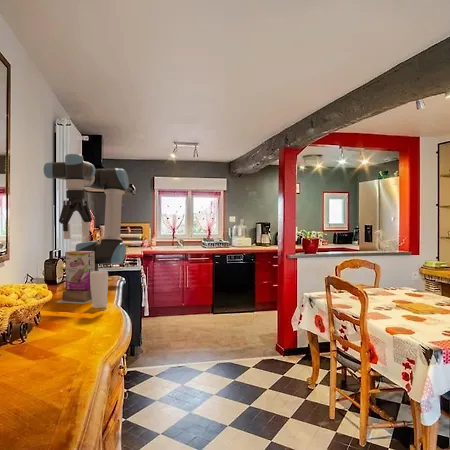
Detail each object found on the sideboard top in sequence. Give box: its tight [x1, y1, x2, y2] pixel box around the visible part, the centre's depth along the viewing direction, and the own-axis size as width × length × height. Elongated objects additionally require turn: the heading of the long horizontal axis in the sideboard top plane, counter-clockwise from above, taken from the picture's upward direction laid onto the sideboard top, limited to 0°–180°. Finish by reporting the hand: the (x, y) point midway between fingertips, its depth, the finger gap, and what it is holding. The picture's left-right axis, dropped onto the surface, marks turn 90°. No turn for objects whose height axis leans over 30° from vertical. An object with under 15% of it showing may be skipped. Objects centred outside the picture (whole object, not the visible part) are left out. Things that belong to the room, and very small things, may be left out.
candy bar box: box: [64, 250, 95, 291], centre depth 164 cm, size 11×5×16 cm, turn 83°
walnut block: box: [61, 289, 92, 302], centre depth 164 cm, size 10×10×4 cm
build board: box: [56, 299, 92, 305], centre depth 164 cm, size 14×14×2 cm
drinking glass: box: [90, 270, 109, 312], centre depth 150 cm, size 7×7×15 cm
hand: (77, 237), depth 171 cm, fingers open, 13 cm apart
